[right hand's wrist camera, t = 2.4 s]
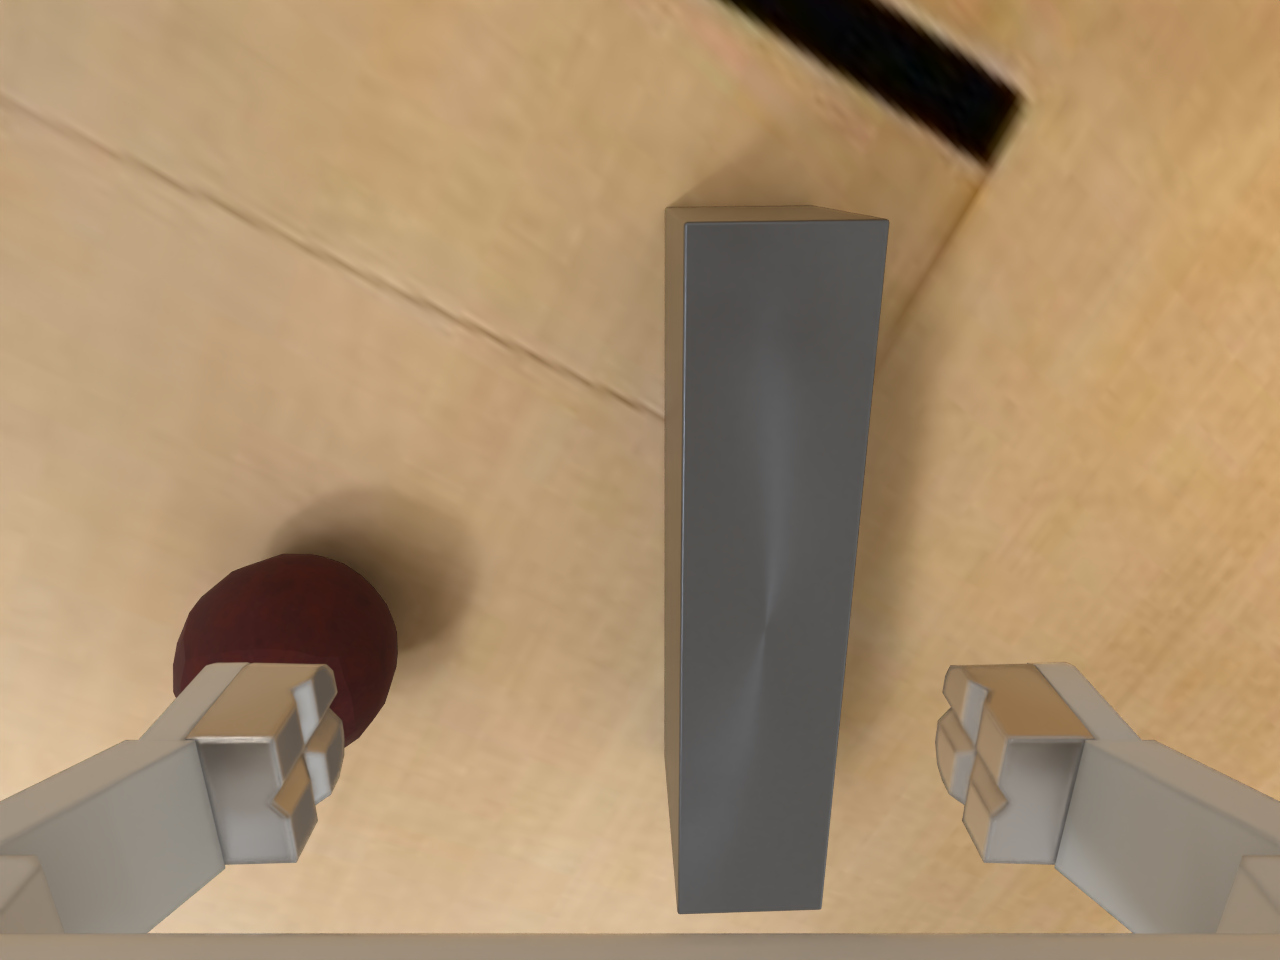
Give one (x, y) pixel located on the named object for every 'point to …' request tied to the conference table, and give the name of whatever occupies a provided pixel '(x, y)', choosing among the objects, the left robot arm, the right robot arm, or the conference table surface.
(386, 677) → the dark maroon ball
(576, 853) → the conference table surface
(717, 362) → the bar
